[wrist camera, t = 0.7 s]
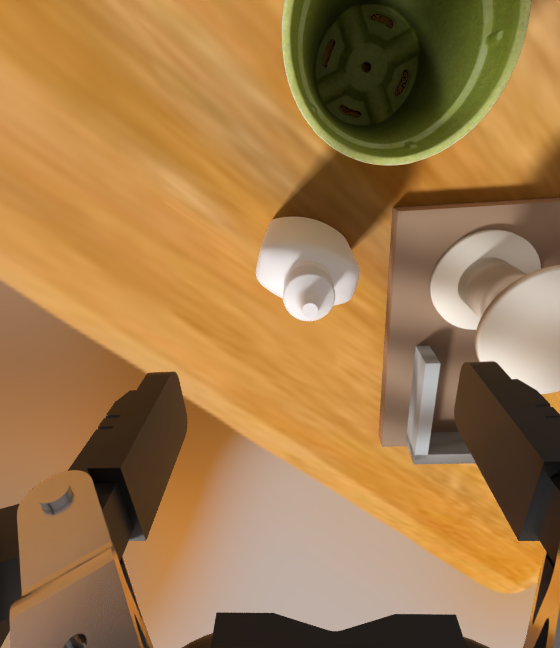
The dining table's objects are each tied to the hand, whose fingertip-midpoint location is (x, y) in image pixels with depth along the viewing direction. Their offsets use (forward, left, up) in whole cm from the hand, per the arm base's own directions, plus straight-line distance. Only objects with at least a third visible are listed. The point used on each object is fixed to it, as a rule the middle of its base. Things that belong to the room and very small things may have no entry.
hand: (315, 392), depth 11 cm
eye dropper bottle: (0, 0, -18) cm, 18 cm away
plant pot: (-10, +4, -18) cm, 21 cm away
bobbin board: (+8, +12, -18) cm, 23 cm away
